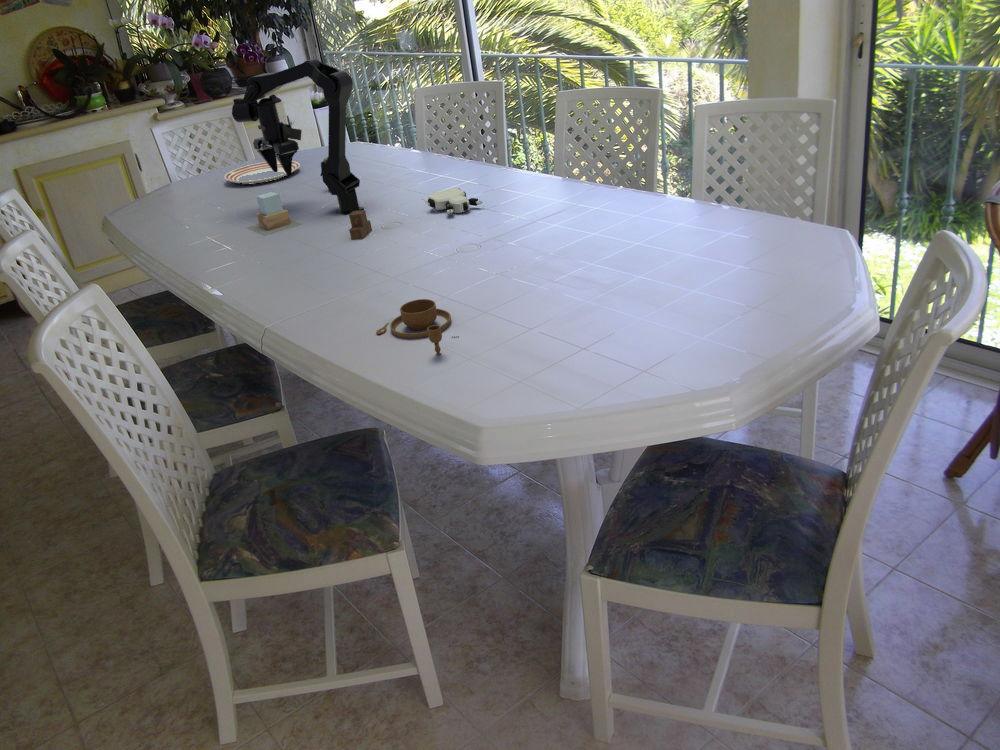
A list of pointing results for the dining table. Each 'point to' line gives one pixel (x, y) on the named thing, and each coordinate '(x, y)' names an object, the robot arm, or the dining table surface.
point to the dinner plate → (255, 169)
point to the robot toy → (451, 201)
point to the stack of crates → (359, 225)
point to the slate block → (269, 203)
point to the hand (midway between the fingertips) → (282, 173)
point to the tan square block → (274, 220)
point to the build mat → (265, 232)
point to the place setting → (420, 321)
